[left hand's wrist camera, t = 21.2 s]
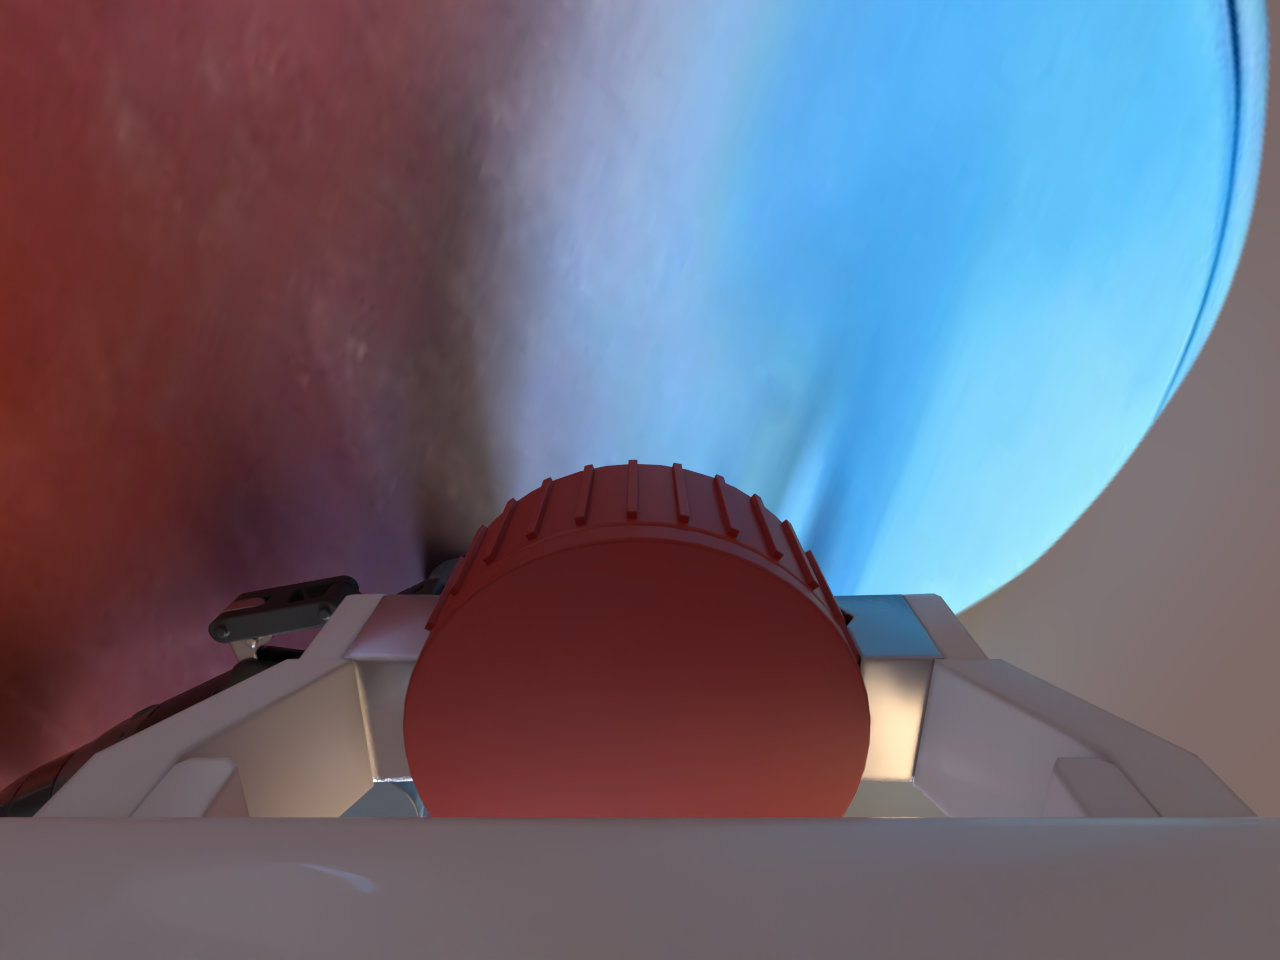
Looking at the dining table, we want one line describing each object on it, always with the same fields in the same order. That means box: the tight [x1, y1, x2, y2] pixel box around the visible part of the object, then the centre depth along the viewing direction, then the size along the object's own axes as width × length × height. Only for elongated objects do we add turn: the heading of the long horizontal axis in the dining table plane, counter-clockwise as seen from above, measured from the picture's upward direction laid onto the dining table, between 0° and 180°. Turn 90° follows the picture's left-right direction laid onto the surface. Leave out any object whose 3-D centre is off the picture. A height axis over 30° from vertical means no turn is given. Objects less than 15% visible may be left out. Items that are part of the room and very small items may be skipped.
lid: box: [403, 460, 871, 817], centre depth 9 cm, size 5×5×2 cm
